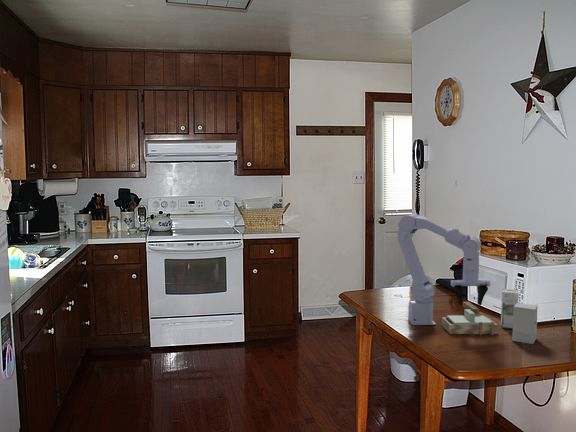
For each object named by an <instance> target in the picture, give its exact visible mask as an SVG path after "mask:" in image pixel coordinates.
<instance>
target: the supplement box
mask: <svg viewBox="0 0 576 432" xmlns="http://www.w3.org/2000/svg"><path fill="white" fill-rule="evenodd" d="M538 306H539V305H538V304H537V305H536V304H529V303H523V302H522V303H521V302H518V303H516V305H515V306H514V311H513V329H512V335H511V337H512V338H511V341H513V342H519V343H524V344H532V345H534V343H535V341H536V339H537V329H538V328H537V327H538V326H537V325H538V309H539V307H538Z"/></svg>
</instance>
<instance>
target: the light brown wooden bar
mask: <svg viewBox="0 0 576 432" xmlns="http://www.w3.org/2000/svg"><path fill="white" fill-rule="evenodd" d="M462 307H463V308H464V309H470V310H471V311H472V312H474V313H475V315H480V309H479V307H477V306H476V305H474V304H473V303H472V302H471V301H462Z"/></svg>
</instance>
